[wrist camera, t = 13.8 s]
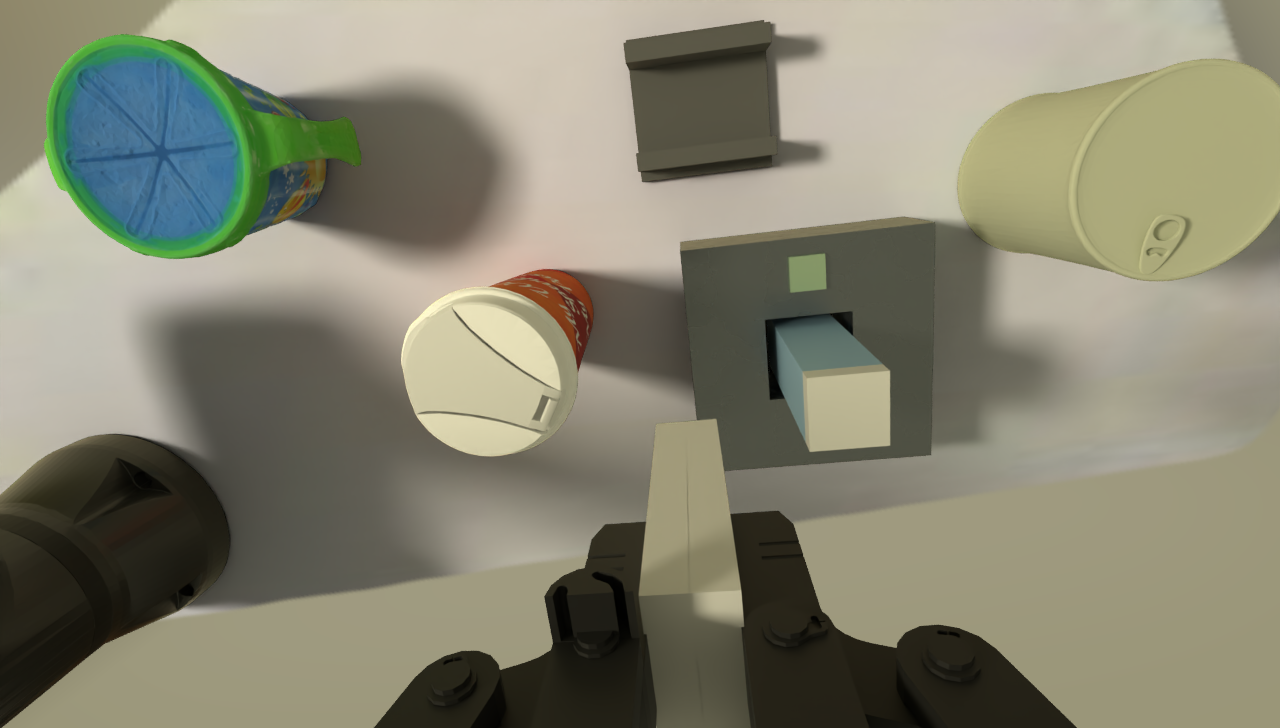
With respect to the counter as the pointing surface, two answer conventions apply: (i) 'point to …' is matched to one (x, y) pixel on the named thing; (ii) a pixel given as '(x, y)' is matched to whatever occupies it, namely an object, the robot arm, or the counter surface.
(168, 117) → the snack cup
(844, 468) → the counter surface
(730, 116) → the dark grey bridge bracket
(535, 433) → the coffee cup
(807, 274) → the port
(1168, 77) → the can
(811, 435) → the plug
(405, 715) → the robot arm
